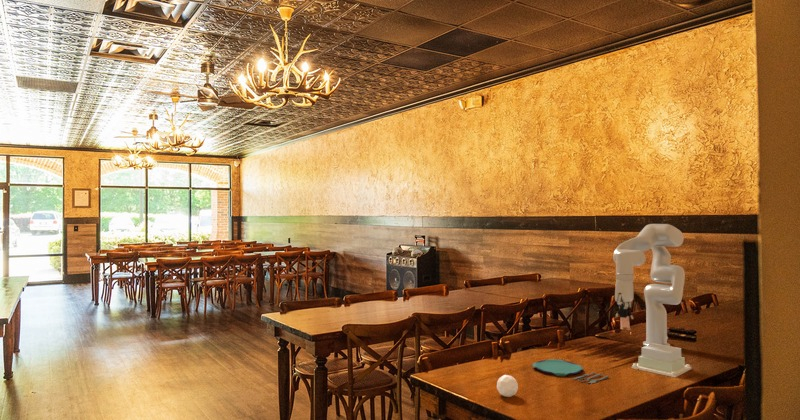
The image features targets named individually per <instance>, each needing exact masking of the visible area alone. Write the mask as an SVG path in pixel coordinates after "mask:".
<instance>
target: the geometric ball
mask: <svg viewBox="0 0 800 420" xmlns="http://www.w3.org/2000/svg"><path fill="white" fill-rule="evenodd" d="M518 387H519V384H518V382H517V379H516V378H514V376H512V375H508V374H504V375H502V376H500V377H499V378H498V380H497V382H496V389H497V391H498V393H499V394H500V395H501V396H503V397H504V398H506V397H507V398H511V397H513V396H514V395H516V394H517V391H518V390H519V389H518Z"/></svg>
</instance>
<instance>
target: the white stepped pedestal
mask: <svg viewBox="0 0 800 420" xmlns="http://www.w3.org/2000/svg"><path fill="white" fill-rule="evenodd" d="M637 358H638V359H637V363H632V365H631V369H635V370H638V369H639V371H643V372H649V373H653V374H657V375H662V376H667V377H672V378H677V377H679V376H681V375H683V374H685V373H687V372H688V371H691V370H692V366H691V364H687V363H686V362H685V357H683V356H682V348H681V347H676V346H672V345H670V346H666V345H660V344H655V343H652V344H650V345H647V346H645V345H643V347H641V355H639V356H638V357H637Z"/></svg>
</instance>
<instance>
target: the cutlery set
mask: <svg viewBox="0 0 800 420" xmlns="http://www.w3.org/2000/svg"><path fill="white" fill-rule="evenodd" d="M532 368H533V369H534V368H535V369H537V370H538V371H539V372H543V373H546V374H550V375H555V376H557V377H566V376H573V375H577V374H579V373H581V372H585V370H584V367H583V366H582V365H580V364H577V363H574V362H572V361H571V362H570V361H566V360H564V359H553V358H550V359H544V360H539V361H535V362H533V363H532ZM602 374H603V373H597V374H596V372H592V373H588V374H586V373H585V374H582V375H581V376H576V377H573V379H572V380H573V381H575V380H578V382H581V383H582V381H583V379H586V380H584V383H591V384H590V385H593V384H592V383H594V384H597V382H600V380H601V381H604V380H606V379H609V378H610V376H609V375H605V376H604V377H601V378H598V379H595V378H597V377H600V376H602ZM590 375H593V376H590ZM588 376H590V377H588ZM603 379H604V380H603Z"/></svg>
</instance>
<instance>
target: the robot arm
mask: <svg viewBox="0 0 800 420" xmlns="http://www.w3.org/2000/svg"><path fill="white" fill-rule="evenodd" d="M684 237H685V236H684V234H683V232H682V231H681V230H680V229H678V228H677V227H675V226H674V225H673V224H672V225H671V224H669V223H649V224H646V225H645V226H644V227H643V228H642V229H641V230H640V231H639V234H637V236H636V237H632V238H630V239H628V240H625V241H623V242H621V243H620V244H619V245H618V246H617V247H616V248H615V250H614V251H613V254H612V260H613V262H614V263H615V280H616V281H615V289H614V301H615V302H616V304H617V305H618V309H619V310H620V315H619V318H621V317H624V318H626V317H627V310H629V311H630V312H631V311H632V310H631V309H632V308H631V307H632V302H633V300H634V295H635V293H634V291H635V290H634V266H635V267H639V266H642V265H644V264H645V262H646V259H647V258H646V255H645V252H646V251H647V252H648V251H650V250H651V252H652V259H651V267H650V279H651V281H653V282H656V283H650V284H647V285H646V286H645V287H644V289H643V295H644V301H645V310H646V311H645V313H646V314H645V316H646V317H645V320H646V323H645V329H646V330H645V334H646V335H645V339H646V340H645V341H642V344H643V346H647V345H650V344H652V343H655V344H660V345H666V346H671V344H670V343H669V342H667V341H668V339H669V337H668V326H667V325H668V320H667V319H668V318H667V317H668V314H667V309H666V307H665V305H672V306H673V305H675V306H677V305H679V304H681V302H682V299H683V294H684V285H685V277H686V275H685V269H684V268H683V267H682V266H681V265H678V264H671V259H672V255H671V253H670V251H669V250H668V249H667V247H680V246H682V245H683V243H684V240H685V239H684ZM660 283H664V284H660ZM626 302H627V303H628V309H626ZM622 303H624V305H623V304H622ZM663 304H664V305H663ZM631 313H632V312H631ZM628 316H629V317H630V315H628Z"/></svg>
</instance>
